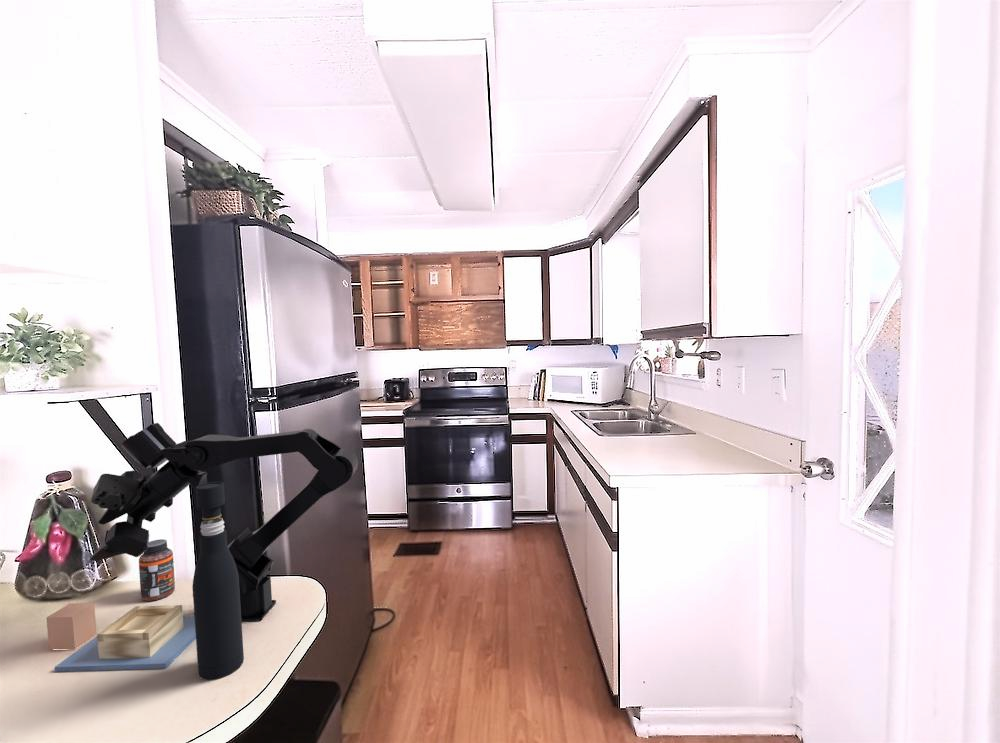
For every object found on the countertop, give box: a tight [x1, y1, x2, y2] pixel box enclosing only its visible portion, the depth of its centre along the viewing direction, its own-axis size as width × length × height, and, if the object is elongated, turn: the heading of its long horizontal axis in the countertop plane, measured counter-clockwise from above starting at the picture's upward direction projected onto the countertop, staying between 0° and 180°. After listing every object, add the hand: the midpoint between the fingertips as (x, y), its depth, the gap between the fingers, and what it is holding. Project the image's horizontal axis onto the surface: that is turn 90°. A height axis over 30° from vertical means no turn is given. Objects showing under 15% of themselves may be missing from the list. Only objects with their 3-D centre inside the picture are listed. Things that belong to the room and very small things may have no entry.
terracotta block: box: [45, 602, 98, 651], centre depth 86 cm, size 4×4×6 cm
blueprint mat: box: [54, 615, 196, 673], centre depth 85 cm, size 18×14×1 cm
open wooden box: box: [96, 604, 184, 659], centre depth 84 cm, size 8×8×5 cm
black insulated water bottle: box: [191, 481, 245, 681], centre depth 77 cm, size 6×6×30 cm
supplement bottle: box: [138, 538, 176, 602], centre depth 102 cm, size 6×6×11 cm
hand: (96, 540), depth 90 cm, fingers open, 9 cm apart
